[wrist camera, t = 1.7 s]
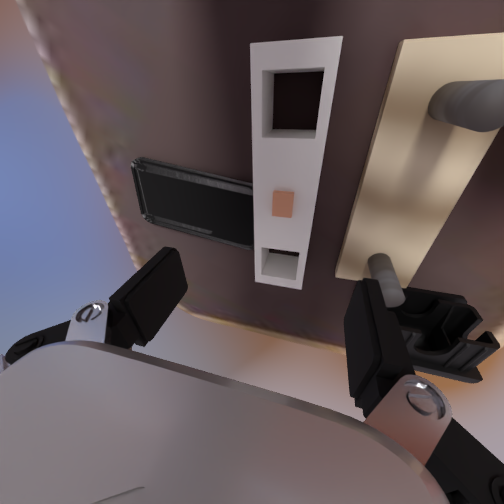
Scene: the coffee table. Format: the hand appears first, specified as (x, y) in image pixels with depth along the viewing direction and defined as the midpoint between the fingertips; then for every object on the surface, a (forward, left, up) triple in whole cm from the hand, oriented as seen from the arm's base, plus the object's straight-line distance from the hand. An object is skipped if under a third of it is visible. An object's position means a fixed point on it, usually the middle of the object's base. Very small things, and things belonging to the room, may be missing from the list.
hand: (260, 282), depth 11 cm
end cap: (+13, +15, -13) cm, 24 cm away
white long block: (-1, 0, -13) cm, 13 cm away
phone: (+2, -10, -13) cm, 17 cm away
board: (-1, +9, -13) cm, 16 cm away
